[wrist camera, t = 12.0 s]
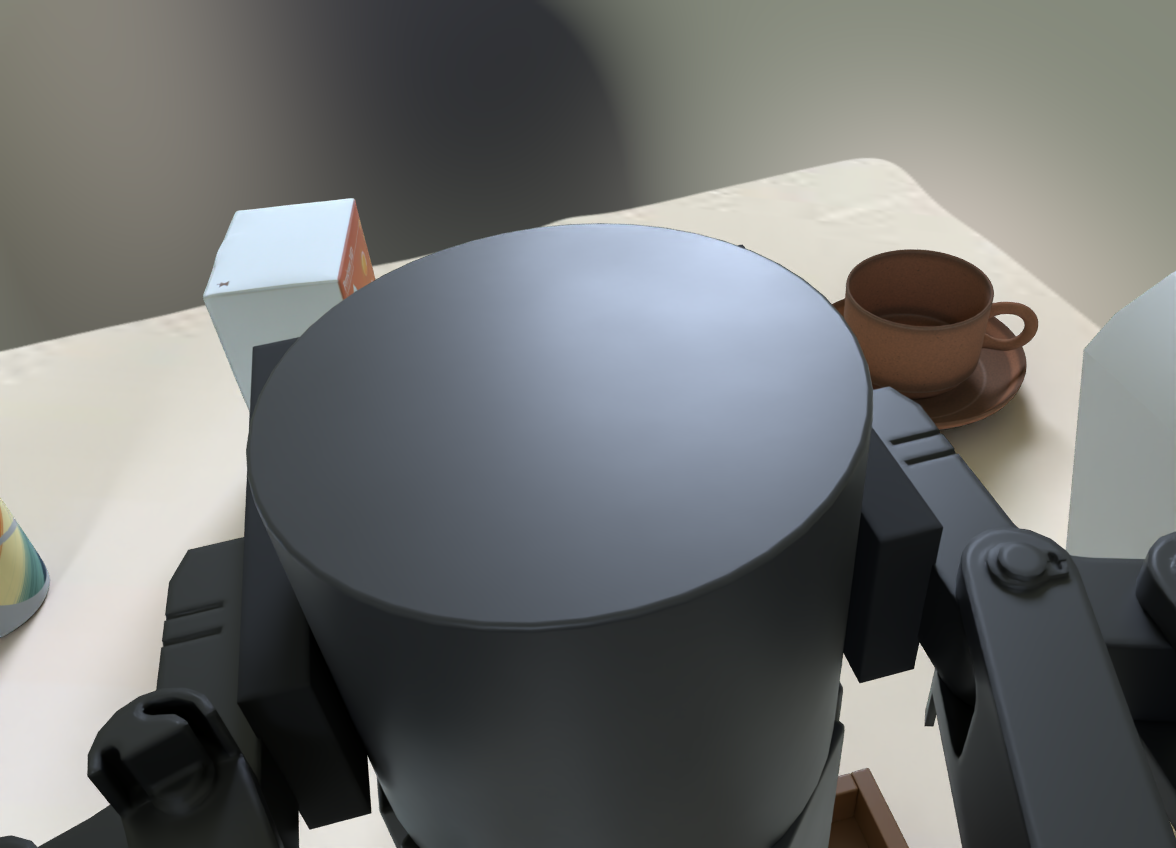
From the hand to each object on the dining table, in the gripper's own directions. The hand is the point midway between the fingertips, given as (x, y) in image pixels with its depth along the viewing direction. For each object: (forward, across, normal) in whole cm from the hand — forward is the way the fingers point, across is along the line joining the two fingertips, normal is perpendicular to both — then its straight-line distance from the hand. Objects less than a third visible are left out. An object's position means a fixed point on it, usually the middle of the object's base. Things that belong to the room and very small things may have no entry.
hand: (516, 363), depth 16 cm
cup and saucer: (+26, +23, -26) cm, 44 cm away
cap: (-5, 0, -6) cm, 7 cm away
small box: (+31, -8, -26) cm, 41 cm away
